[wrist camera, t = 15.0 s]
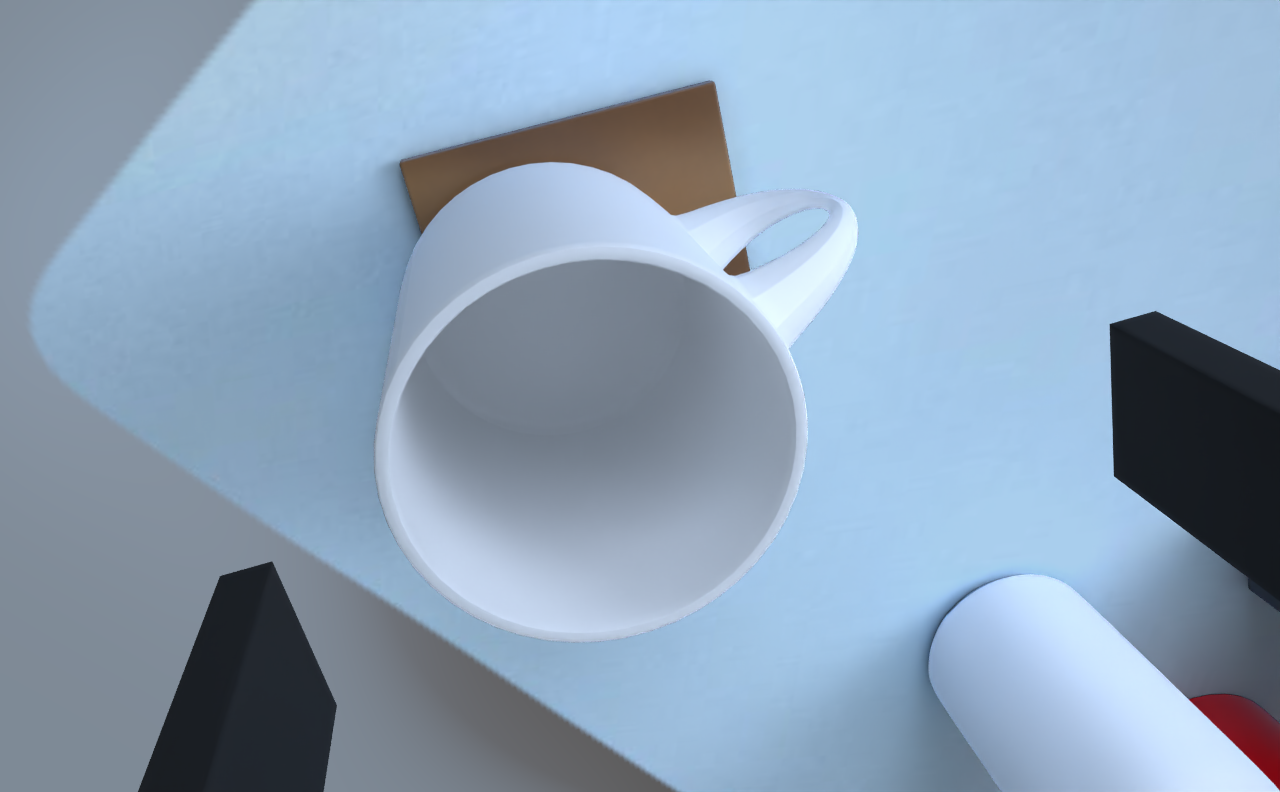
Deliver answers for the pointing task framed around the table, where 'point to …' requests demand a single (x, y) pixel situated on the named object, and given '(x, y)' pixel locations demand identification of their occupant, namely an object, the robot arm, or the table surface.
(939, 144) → the table surface
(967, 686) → the can
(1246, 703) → the mug
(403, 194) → the table surface
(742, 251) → the coaster
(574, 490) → the mug
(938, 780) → the table surface
